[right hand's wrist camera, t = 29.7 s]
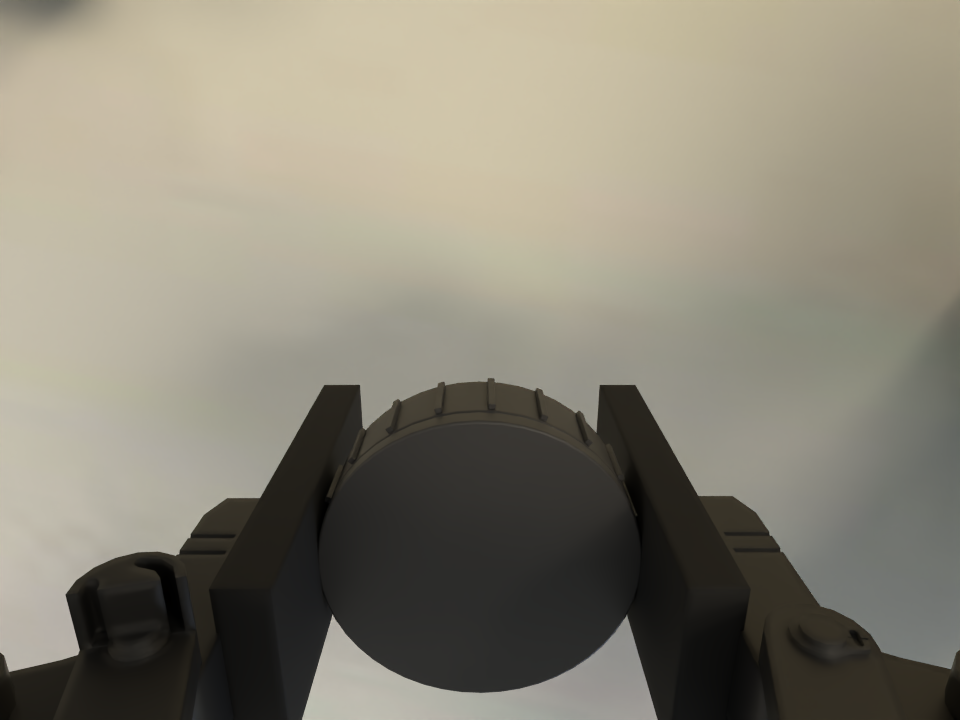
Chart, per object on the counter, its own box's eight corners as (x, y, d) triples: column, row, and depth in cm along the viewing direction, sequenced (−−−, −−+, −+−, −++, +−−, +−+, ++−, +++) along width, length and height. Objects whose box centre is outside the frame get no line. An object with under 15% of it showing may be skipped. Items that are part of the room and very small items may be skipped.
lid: (565, 330, 11) (579, 364, 9) (663, 576, 13) (688, 639, 11) (280, 443, 12) (251, 491, 10) (409, 662, 13) (400, 731, 12)
